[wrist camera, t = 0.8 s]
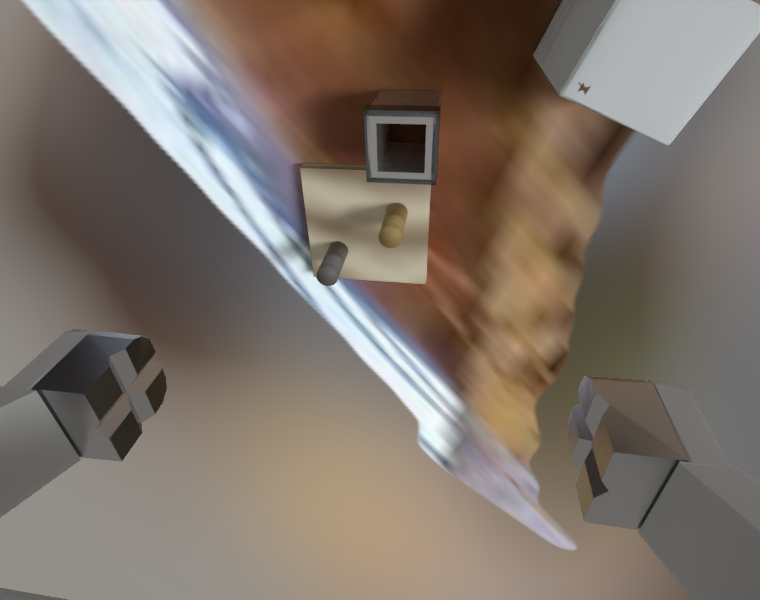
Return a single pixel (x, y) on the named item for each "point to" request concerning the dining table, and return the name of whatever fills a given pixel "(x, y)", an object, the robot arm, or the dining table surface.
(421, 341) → the dining table surface
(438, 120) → the sleeve
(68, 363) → the robot arm
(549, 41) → the supplement box
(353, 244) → the pinboard
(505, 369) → the dining table surface
